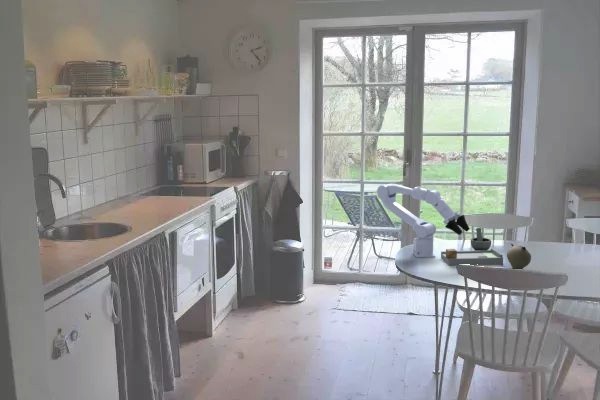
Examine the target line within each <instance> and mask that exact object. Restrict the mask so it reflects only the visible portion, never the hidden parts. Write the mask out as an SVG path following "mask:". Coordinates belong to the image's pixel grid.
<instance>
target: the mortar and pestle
mask: <svg viewBox="0 0 600 400" xmlns="http://www.w3.org/2000/svg"><path fill="white" fill-rule="evenodd" d="M475 231H476V237H473V238H471V239H470V246H471V248H472V249H473V251H481V250H489V249H491V247H492V239H490V238H487V237H483V233H482V227H476V229H475Z"/></svg>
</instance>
